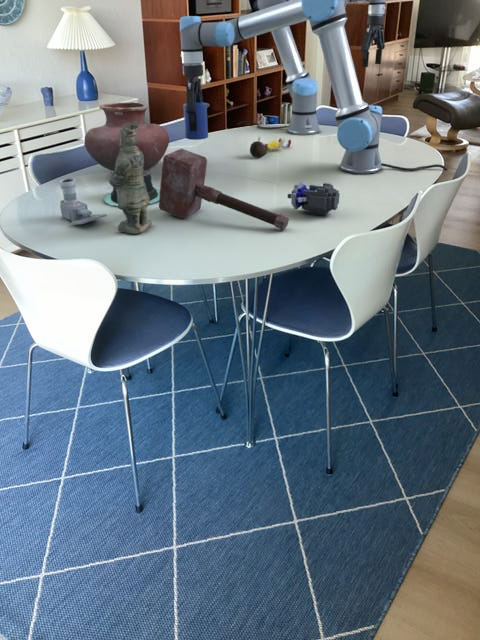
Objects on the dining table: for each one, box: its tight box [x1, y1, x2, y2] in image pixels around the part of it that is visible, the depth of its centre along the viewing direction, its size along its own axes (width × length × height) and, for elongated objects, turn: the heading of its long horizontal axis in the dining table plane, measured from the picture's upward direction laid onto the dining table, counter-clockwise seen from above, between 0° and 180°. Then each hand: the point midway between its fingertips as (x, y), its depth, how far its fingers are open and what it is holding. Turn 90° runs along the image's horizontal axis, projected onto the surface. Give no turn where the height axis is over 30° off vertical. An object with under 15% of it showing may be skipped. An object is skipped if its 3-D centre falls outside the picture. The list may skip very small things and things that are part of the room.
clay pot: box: [83, 101, 170, 172], centre depth 207 cm, size 30×30×25 cm
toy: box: [287, 180, 341, 216], centre depth 168 cm, size 9×9×15 cm
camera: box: [59, 177, 108, 225], centre depth 165 cm, size 9×12×15 cm
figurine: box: [249, 135, 292, 158], centre depth 235 cm, size 13×8×25 cm
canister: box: [182, 102, 209, 141], centre depth 213 cm, size 9×9×12 cm
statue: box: [108, 121, 153, 235], centre depth 154 cm, size 11×9×30 cm
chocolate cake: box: [103, 169, 160, 207], centre depth 186 cm, size 15×19×20 cm
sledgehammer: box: [158, 148, 290, 231], centre depth 163 cm, size 17×10×40 cm
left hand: (371, 65), depth 268 cm, fingers open, 13 cm apart
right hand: (196, 128), depth 214 cm, fingers closed on canister, 9 cm apart
